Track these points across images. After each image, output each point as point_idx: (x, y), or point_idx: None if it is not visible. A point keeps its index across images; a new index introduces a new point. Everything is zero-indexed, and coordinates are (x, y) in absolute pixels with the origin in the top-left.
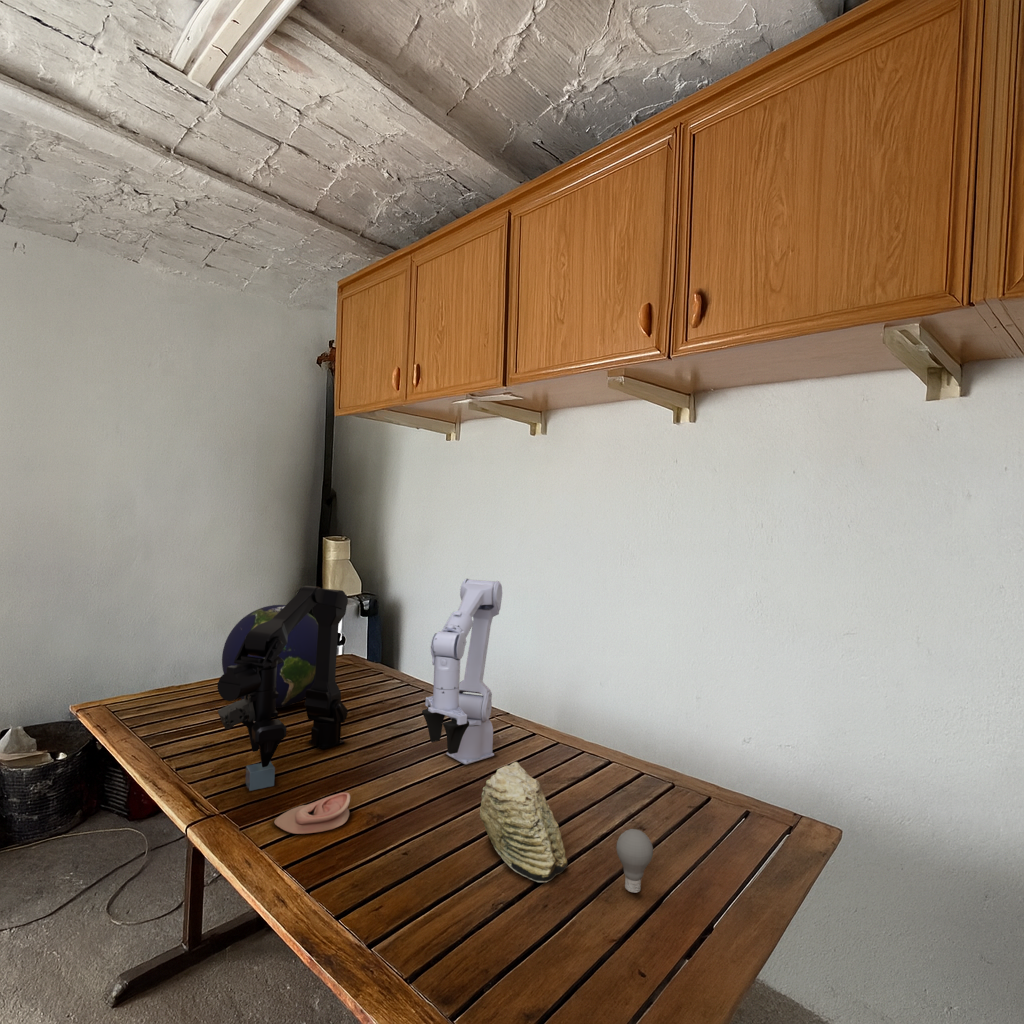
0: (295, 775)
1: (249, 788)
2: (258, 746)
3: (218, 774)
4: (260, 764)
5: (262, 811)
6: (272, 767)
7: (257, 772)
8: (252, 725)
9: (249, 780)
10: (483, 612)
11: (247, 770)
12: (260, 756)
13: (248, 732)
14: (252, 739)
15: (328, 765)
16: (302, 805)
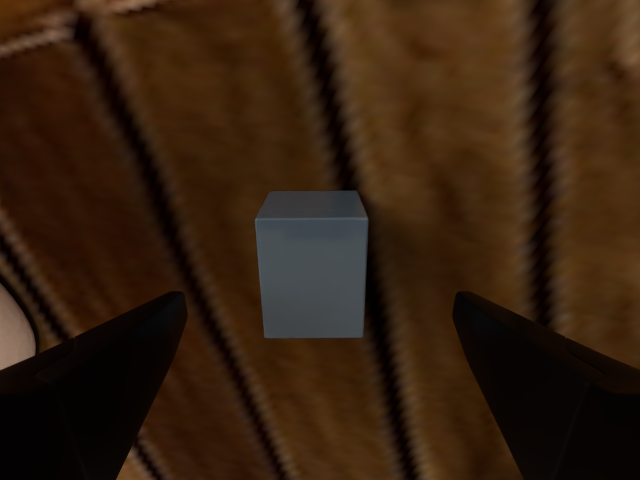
0: (335, 371)
1: (271, 193)
2: (462, 339)
3: (547, 90)
4: (343, 288)
5: (49, 198)
6: (273, 329)
7: (257, 254)
8: (615, 453)
9: (270, 203)
10: None
11: (326, 213)
12: (135, 320)
13: (596, 355)
14: (503, 341)
15: (360, 469)
16: (2, 337)
